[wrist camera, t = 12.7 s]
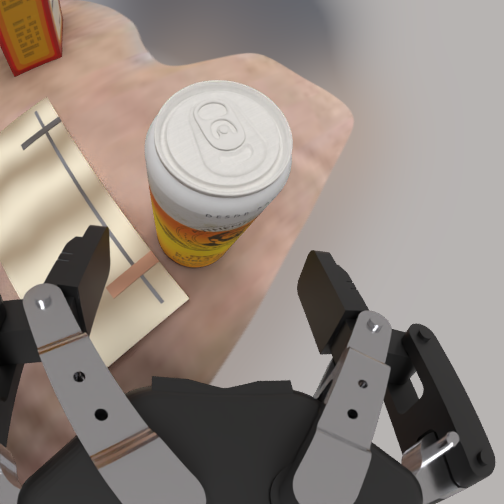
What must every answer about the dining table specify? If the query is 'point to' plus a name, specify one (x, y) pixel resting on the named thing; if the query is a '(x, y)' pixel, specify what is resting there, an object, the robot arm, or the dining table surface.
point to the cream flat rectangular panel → (75, 230)
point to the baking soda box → (30, 33)
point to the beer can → (214, 167)
